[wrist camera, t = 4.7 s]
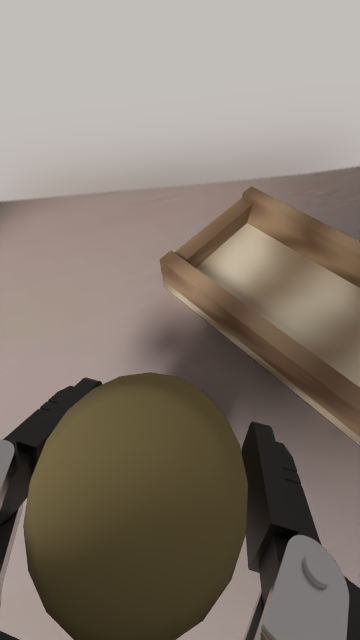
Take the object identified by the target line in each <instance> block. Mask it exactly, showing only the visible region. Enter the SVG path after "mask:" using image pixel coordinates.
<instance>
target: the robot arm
mask: <svg viewBox="0 0 360 640" xmlns="http://www.w3.org/2000/svg"><path fill="white" fill-rule="evenodd" d="M101 385H102V382H101V381H97V380H93V379H89V378H83V379H82V380H81V381H80V382H79V383H78V384H77V385H76V386H75V387H73V386H69V387H67V388H65V389H63V390H61V391H59V392H57V393H56V394H55V395H54V396H53V397H51V398H50V399H49V401H48V402H46V403H45V404H43V405H42V406H41V407H40V409H38V410H37V411H35V412H34V413H33V414H32V415H31V416H30V417H29V418H27V419H26V420H25V421H24V422H23V423H22V424H21V425H19V426H18V427H17V428H16V429H15V430H14V431H13V432H11V433H10V434H9V435H8V436H7V437H6V438H4V439H3V440H0V606H1V594H2V586H3V581H4V576H5V573H6V569H7V565H8V561H9V558H10V554H11V550H12V546H13V543H14V539H15V535H16V532H17V528H18V524H19V520H20V517H21V513H22V509H23V502H24V501H25V499H26V498H27V497H28V491H29V484H30V480H31V477H32V475H33V472H34V470H35V467H36V465H37V462H38V460H39V457H40V455H41V452H42V450H43V447H44V445H45V442H46V440H47V439H48V437H49V436H50V434H51V433H52V432H53V430H54V429H55V427H56V426H57V425H58V423H59V422H60V420H61V419H62V417H63V416H64V415H65V413H66V412H67V410H69V409H70V408H71V407H72V406H73V405H75V404H76V403H77V402H78V401H79V400H80V399H82V398H83V397H84V396H85V395H86V394H87V393H89V392H90V391H91V390H92V389H94V388H96V387H98V386H101ZM241 453H242V458H243V463H244V467H245V472H246V477H247V481H248V498H247V520H246V542H247V555H248V568H249V570H252V571H255V572H258V573H260V580H261V589H262V590H261V592H260V594H259V596H258V599H257V602H256V605H255V608H254V611H253V613H252V616H251V619H250V622H249V625H248V628H247V630H246V633H245V636H244V639H243V640H360V588H359V587H357V586H356V585H354V584H353V583H352V582H351V581H349V580H348V579H347V578H346V577H345V576H344V575H343V573H342V571H341V569H340V567H339V566H338V564H337V563H336V561H335V560H334V558H333V557H332V556H331V554H330V553H329V552H328V551H327V550H326V549H325V548H324V547H323V546H322V545H321V542H320V540H319V537H318V534H317V531H316V528H315V525H314V522H313V519H312V516H311V513H310V510H309V506H308V503H307V500H306V497H305V494H304V491H303V488H302V486H301V482H300V479H299V476H298V474H297V469H296V466H295V463H294V460H293V457H292V456H291V454H290V453H289V451H288V450H287V448H286V447H285V446H284V444H283V443H279V442H275V438H274V434H273V431H272V428H271V427H270V426H267V425H264V424H260V423H256V422H251V424H250V426H249V429H248V432H247V435H246V438H245V441H244V444H243V447H242V451H241ZM0 640H19V639H17V638H15V637H12V636H10V635H8V634H6V633H4V632H1V631H0Z"/></svg>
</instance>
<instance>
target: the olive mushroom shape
mask: <svg viewBox="0 0 360 640" xmlns="http://www.w3.org/2000/svg"><path fill="white" fill-rule="evenodd" d="M247 498H248V481H247V477H246V472H245V467H244V463H243V458H242V453H241V449H240V444H239V442H238V440H237V438H236V436H235V434H234V433H233V431H232V429H231V427H230V425H229V423H228V421H227V419H226V417H225V415H224V413H223V412H222V411H221V410H220V409H219V408H218V407H217V406H216V405H215V404H214V403H213V402H212V401H211V400H210V399H209V397H208V396H207V395H206V394H205V393H204V392H203V391H201V390H200V389H198V388H196V387H194V386H192V385H191V384H189V383H187V382H185V381H183V380H182V379H180V378H178V377H173V376H168V375H162V374H157V373H152V372H150V373H143V374H135V375H128V376H121V377H118V378H116V379H114V380H111V381H109V382H107V383H105V384H103V385H101V386H98V387H96V388H94V389H92V390H91V391H90V392H89V393H87V394H86V395H85V396H84V397H83V398H82V399H80V400H79V401H78V402H77V403H76V404H75V405H73V406H72V407H71V408H70V409H69V410H67V412H66V413H65V415H64V416H63V417H62V419H61V420H60V422H59V423H58V425H57V426H56V427H55V429H54V430H53V432H52V433H51V434H50V436H49V437H48V439H47V440H46V442H45V445H44V447H43V450H42V452H41V455H40V457H39V460H38V462H37V465H36V467H35V470H34V472H33V475H32V477H31V480H30V484H29V491H28V498H27V505H26V512H25V519H24V526H23V527H24V536H25V545H26V554H27V563H28V571H29V573H30V576H31V578H32V580H33V583H34V585H35V587H36V590H37V592H38V594H39V596H40V599H41V601H42V603H43V606H44V608H45V610H46V612H47V613H48V614H49V615H50V616H51V617H52V618H53V619H54V620H55V621H56V622H57V623H58V624H59V625H60V626H61V627H62V628H63V629H64V630H65V631H66V632H67V633H68V634H69V635H70V636H71V637H72V638H73V639H74V640H176V639H177V638H179V637H180V636H181V635H183V634H184V633H186V632H187V631H189V630H190V629H191V628H193V627H194V626H196V625H197V624H199V623H200V622H201V621H203V620H204V618H205V617H206V615H207V614H208V613H209V611H210V610H211V608H212V607H213V605H214V604H215V602H216V601H217V600H218V598H219V597H220V595H221V594H222V592H223V591H224V589H225V588H226V587H227V585H228V584H229V582H230V581H231V579H232V575H233V572H234V569H235V566H236V563H237V560H238V557H239V554H240V550H241V547H242V544H243V541H244V538H245V535H246V520H247Z"/></svg>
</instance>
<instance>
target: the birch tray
mask: <svg viewBox="0 0 360 640" xmlns="http://www.w3.org/2000/svg"><path fill="white" fill-rule="evenodd" d="M160 264H161V270H162V276H163V282H164V287H165V288H167V289H168V290H169V291H170V292H172V293H173V294H174V295H175V296H177V297H178V298H179V299H180V300H181V301H183V302H184V303H185V304H186V305H188V306H189V307H190V308H191V309H193V310H194V311H195V312H196V313H197V314H199V315H200V316H201V317H202V318H204V319H205V320H206V321H207V322H209V323H210V324H211V325H212V326H213V327H215V328H216V329H217V330H218V331H220V332H221V333H222V334H223V335H225V336H226V337H227V338H228V339H229V340H231V341H232V342H233V343H234V344H236V345H237V346H238V347H239V348H241V349H242V350H243V351H244V352H245V353H247V354H248V355H249V356H250V357H252V358H253V359H254V360H255V361H257V362H258V363H259V364H260V365H261V366H263V367H264V368H265V369H266V370H268V371H269V372H270V373H271V374H273V375H274V376H275V377H276V378H277V379H279V380H280V381H281V382H282V383H284V384H285V385H286V386H287V387H289V388H290V389H291V390H292V391H293V392H295V393H296V394H297V395H298V396H300V397H301V398H302V399H303V400H305V401H306V402H307V403H308V404H309V405H311V406H312V407H313V408H314V409H316V410H317V411H318V412H319V413H321V414H322V415H323V416H324V417H325V418H327V419H328V420H329V421H330V422H332V423H333V424H334V425H335V426H337V427H338V428H339V429H340V430H341V431H343V432H344V433H345V434H346V435H348V436H349V437H350V438H351V439H353V440H354V441H355V442H356V443H357V444H359V445H360V241H358V240H356V239H354V238H352V237H350V236H348V235H346V234H344V233H342V232H340V231H338V230H336V229H334V228H332V227H330V226H328V225H326V224H324V223H322V222H320V221H318V220H316V219H314V218H312V217H310V216H308V215H306V214H304V213H303V212H301V211H299V210H297V209H295V208H293V207H291V206H289V205H287V204H285V203H283V202H281V201H279V200H277V199H275V198H273V197H271V196H269V195H267V194H265V193H263V192H261V191H259V190H257V189H255V188H253V187H250V188H249V189H247V190H246V191H245V192H244V193H243V195H242V198H241V199H240V200H239V201H238V202H236V203H235V204H234V205H233V206H232V207H230V208H229V209H228V210H227V211H225V212H224V213H223V214H222V215H220V216H219V217H218V218H217V219H215V220H214V221H213V222H212V223H211V224H209V225H208V226H207V227H206V228H204V229H203V230H202V231H201V232H199V233H198V234H197V235H196V236H194V237H193V238H192V239H191V240H190V241H188V242H187V243H186V244H185V245H183V246H182V247H181V248H180V249H178V250H177V251H176V252H175V253H174V252H173V251H170V252H169V253H167V254H166V255H165V256H164V257H162V258H161V259H160Z"/></svg>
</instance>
